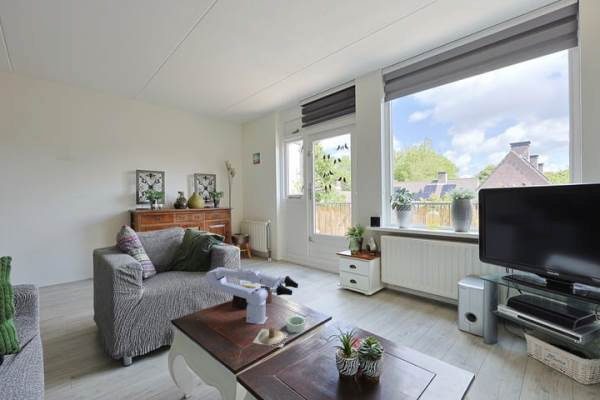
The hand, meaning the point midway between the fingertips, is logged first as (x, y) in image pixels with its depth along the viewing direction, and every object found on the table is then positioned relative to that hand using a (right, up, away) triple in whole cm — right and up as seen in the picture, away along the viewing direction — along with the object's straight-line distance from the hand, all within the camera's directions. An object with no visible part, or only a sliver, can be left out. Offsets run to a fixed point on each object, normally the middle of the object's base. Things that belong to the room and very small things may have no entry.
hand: (295, 289), depth 132 cm
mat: (-11, -20, -8) cm, 24 cm away
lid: (-11, -19, -8) cm, 24 cm away
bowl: (+1, -20, 0) cm, 20 cm away
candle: (-31, -18, +26) cm, 44 cm away
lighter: (-18, -18, +30) cm, 40 cm away
